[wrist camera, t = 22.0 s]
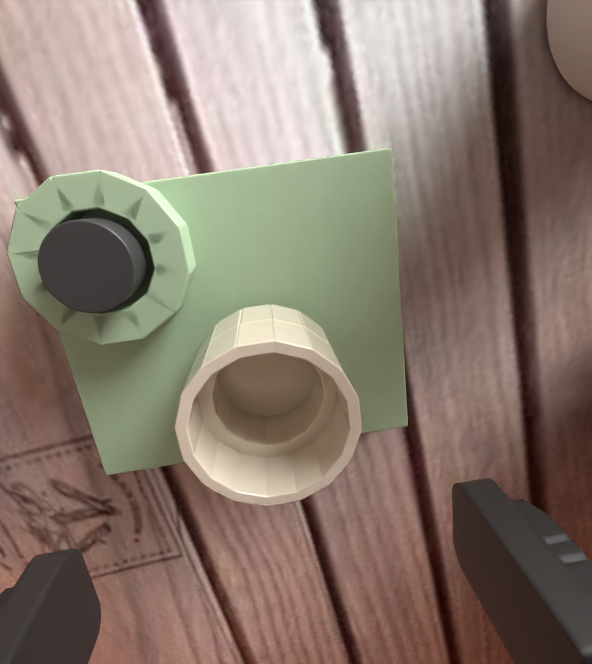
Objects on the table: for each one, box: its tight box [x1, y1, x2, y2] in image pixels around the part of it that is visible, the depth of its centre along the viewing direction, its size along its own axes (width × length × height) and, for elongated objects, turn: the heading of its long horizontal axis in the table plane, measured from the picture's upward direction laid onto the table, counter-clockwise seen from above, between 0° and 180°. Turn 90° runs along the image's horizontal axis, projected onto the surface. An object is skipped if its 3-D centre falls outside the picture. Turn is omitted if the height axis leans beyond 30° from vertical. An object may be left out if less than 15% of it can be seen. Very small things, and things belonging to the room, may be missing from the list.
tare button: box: [38, 218, 147, 313], centre depth 14 cm, size 3×3×2 cm
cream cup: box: [174, 304, 362, 506], centre depth 15 cm, size 6×6×5 cm
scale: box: [7, 148, 408, 475], centre depth 17 cm, size 14×12×3 cm
